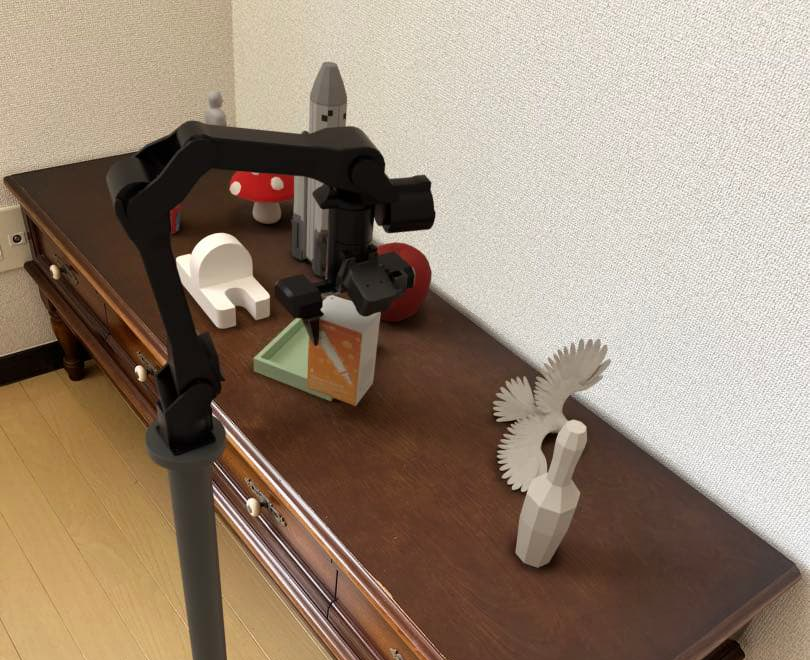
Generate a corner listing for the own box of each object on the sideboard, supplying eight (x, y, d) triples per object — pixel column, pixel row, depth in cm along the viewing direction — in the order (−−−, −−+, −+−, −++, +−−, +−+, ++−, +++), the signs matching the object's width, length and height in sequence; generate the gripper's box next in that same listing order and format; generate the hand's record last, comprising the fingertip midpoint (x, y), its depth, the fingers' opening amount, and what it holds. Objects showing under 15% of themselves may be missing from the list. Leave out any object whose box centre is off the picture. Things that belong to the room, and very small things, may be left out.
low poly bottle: (500, 553, 106) (536, 426, 90) (526, 526, 109) (566, 400, 94) (541, 580, 103) (586, 454, 88) (566, 552, 107) (614, 427, 92)
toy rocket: (359, 270, 151) (373, 73, 127) (320, 283, 147) (328, 81, 123) (323, 242, 157) (331, 48, 133) (285, 254, 153) (286, 55, 129)
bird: (472, 481, 127) (525, 510, 114) (433, 395, 120) (484, 415, 107) (575, 413, 132) (637, 433, 119) (542, 326, 125) (604, 337, 112)
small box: (305, 389, 119) (308, 314, 110) (325, 366, 124) (329, 292, 115) (356, 407, 117) (362, 332, 108) (374, 383, 122) (382, 309, 113)
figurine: (238, 168, 176) (236, 96, 165) (222, 172, 174) (219, 100, 163) (214, 151, 180) (210, 80, 170) (198, 155, 178) (193, 84, 168)
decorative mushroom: (245, 244, 154) (243, 167, 143) (218, 210, 162) (214, 135, 152) (313, 231, 160) (316, 156, 149) (284, 199, 168) (284, 126, 157)
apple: (407, 343, 136) (416, 273, 127) (345, 321, 139) (350, 251, 130) (436, 309, 145) (446, 241, 135) (377, 289, 147) (383, 221, 138)
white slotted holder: (219, 330, 134) (215, 272, 126) (175, 275, 144) (170, 219, 136) (272, 315, 138) (272, 259, 131) (226, 264, 148) (223, 208, 141)
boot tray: (331, 401, 124) (331, 388, 122) (253, 371, 127) (253, 358, 125) (376, 349, 134) (378, 336, 133) (304, 322, 138) (304, 309, 136)
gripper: (317, 282, 95) (313, 387, 105) (446, 249, 103) (430, 349, 114) (272, 237, 101) (272, 341, 112) (397, 210, 110) (386, 308, 120)
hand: (343, 335), depth 114 cm, fingers closed on small box, 9 cm apart
